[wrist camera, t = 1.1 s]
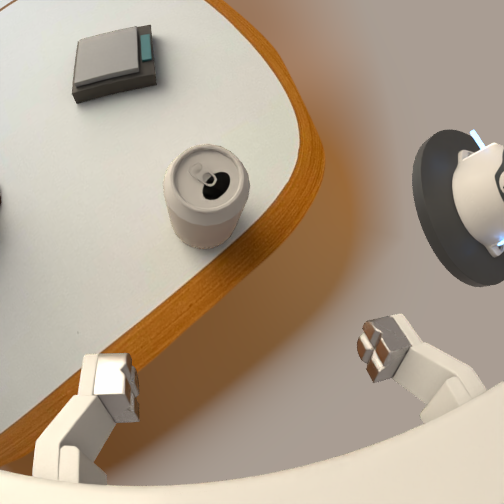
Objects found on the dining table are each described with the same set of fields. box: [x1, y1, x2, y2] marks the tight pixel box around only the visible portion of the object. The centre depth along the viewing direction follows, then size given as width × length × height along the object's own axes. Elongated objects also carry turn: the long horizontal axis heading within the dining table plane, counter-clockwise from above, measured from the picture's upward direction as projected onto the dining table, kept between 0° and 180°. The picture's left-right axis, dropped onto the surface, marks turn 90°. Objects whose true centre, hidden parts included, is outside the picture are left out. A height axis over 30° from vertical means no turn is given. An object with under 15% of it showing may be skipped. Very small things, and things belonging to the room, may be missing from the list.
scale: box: [72, 25, 157, 103], centre depth 38 cm, size 12×12×4 cm
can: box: [163, 144, 250, 249], centre depth 31 cm, size 8×8×12 cm
